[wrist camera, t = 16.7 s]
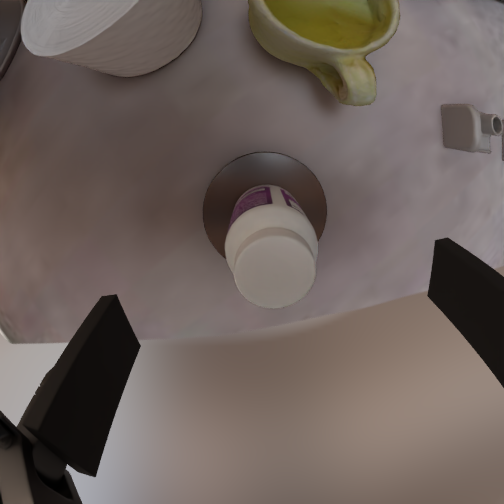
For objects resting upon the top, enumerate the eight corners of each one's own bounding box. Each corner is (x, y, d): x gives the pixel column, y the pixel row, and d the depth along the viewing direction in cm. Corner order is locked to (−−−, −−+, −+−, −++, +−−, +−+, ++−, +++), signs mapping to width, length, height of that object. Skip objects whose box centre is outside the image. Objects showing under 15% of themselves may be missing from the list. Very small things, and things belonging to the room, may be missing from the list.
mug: (217, -28, 12) (260, -88, 5) (329, -16, 15) (407, -40, 7) (227, 101, 19) (278, 109, 12) (336, 97, 22) (419, 114, 14)
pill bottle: (232, 246, 23) (217, 317, 14) (234, 181, 21) (217, 218, 12) (297, 249, 23) (319, 321, 14) (304, 186, 21) (339, 226, 12)
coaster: (192, 164, 21) (190, 165, 20) (317, 144, 20) (319, 144, 20) (217, 276, 25) (217, 280, 24) (328, 258, 24) (330, 261, 24)
